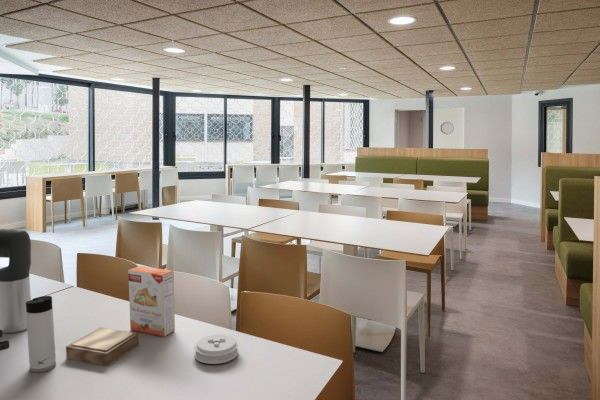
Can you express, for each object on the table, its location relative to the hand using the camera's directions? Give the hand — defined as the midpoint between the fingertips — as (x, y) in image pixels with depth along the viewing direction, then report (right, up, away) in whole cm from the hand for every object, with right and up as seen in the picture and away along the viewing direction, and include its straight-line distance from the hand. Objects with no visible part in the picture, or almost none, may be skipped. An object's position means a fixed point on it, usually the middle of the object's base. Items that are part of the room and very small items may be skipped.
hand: (5, 338), depth 116 cm
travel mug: (+6, -10, +7) cm, 14 cm away
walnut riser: (+18, -9, +17) cm, 27 cm away
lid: (+52, -10, +16) cm, 55 cm away
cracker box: (+28, -8, +32) cm, 43 cm away
